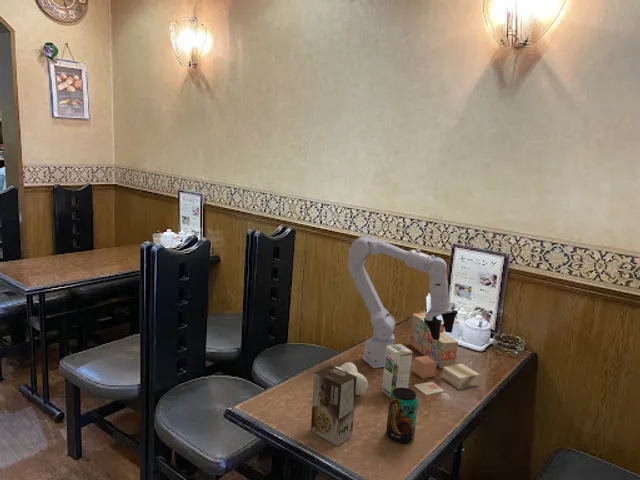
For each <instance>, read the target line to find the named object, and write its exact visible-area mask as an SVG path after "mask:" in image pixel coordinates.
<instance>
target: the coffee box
mask: <svg viewBox="0 0 640 480" xmlns="http://www.w3.org/2000/svg"><path fill="white" fill-rule="evenodd" d="M335 367H336V366H334V365H331V364H329V365H327V366H324V367H322V368H321V369H319V370H316V371H315V372H313V384H312V400H311V402H312V403H311V404H312V406H311V422H310V432H312V433H314V434H315V433H316V435H317V436H319V437H321V438H322V439H325V440H326V441H327V442H330V443H331V444H333V445H335V446H336V447H338V446H339V445H341V444H342V443H344V442H346V441H347V440H349V439H351V438H352V437H353V428H354V415H355V407H356V405H355V404H356V395H355V393H356V380H357V377H356V376H354V375H352V374H349V373H347V372H345V371H342V370H340V369H338V368H335Z"/></svg>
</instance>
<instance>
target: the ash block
mask: <svg viewBox="0 0 640 480" xmlns="http://www.w3.org/2000/svg"><path fill="white" fill-rule="evenodd" d="M441 379H442V380H445V382H447V383H449V384H450V385H452V386H453V387H454V388H457V389H458V390H463V389H466V388H472V387H476V386H479V381H480V373H478V372H477V371H475V370H473V369H471V368H470V367H468V366H467V365H465V364H463V363H457V364H455V365H452V366H446V367H443V368H442V371H441Z"/></svg>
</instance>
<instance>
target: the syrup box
mask: <svg viewBox="0 0 640 480" xmlns="http://www.w3.org/2000/svg"><path fill="white" fill-rule="evenodd" d="M412 357H413V350H411V349H410V348H407V347H406V346H405V345H403V344H402V343H401V344H399V343H397V344H395V343H394V345H389V346H387V347H386V355H385V365H384V367H383V375H382V383H381V384H382V386H381V392H383V393H384V394H385V395H387V396H388V397H389V398H390V396H391V394H392V393H393V390H394V389H396V388H408V389H409V383H410V376H411V367H412V360H413V359H412Z"/></svg>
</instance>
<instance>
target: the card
mask: <svg viewBox="0 0 640 480" xmlns="http://www.w3.org/2000/svg"><path fill="white" fill-rule="evenodd" d="M413 387H414V388H416V389H417V390H418V391H420V392H421V393H422V394H423V395H424V396H430V395H434V394H440V393H445V390H444V389H443V388H442V387H440V386H439V385H438V384H437V383H435V382H433V381H428V382H423V383H417V384H413Z"/></svg>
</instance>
